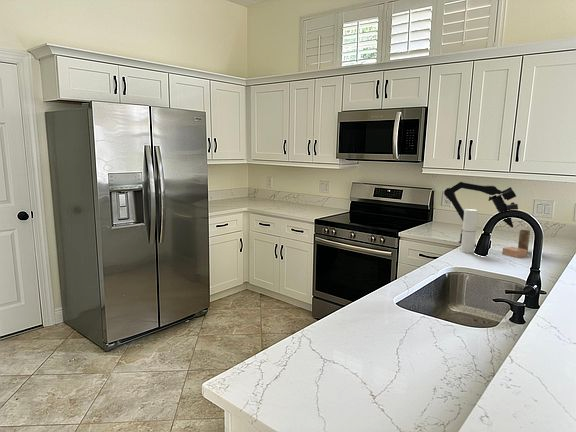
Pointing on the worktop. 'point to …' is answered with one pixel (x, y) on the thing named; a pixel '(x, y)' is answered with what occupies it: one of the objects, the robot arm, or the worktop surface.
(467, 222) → the cylindrical container
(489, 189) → the robot arm
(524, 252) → the terracotta riser
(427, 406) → the worktop surface
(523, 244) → the walnut block
